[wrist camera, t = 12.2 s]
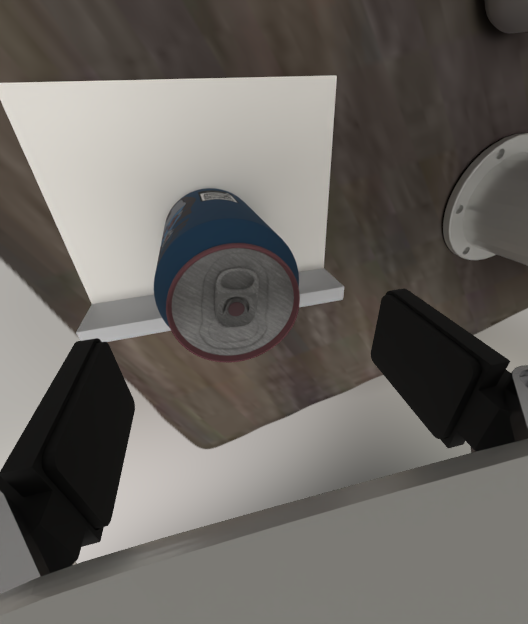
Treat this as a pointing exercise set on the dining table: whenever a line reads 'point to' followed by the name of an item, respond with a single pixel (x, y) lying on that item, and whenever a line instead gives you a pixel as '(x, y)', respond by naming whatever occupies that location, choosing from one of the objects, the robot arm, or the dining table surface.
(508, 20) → the plastic bottle
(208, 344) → the soda can
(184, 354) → the dining table surface
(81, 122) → the shelf
